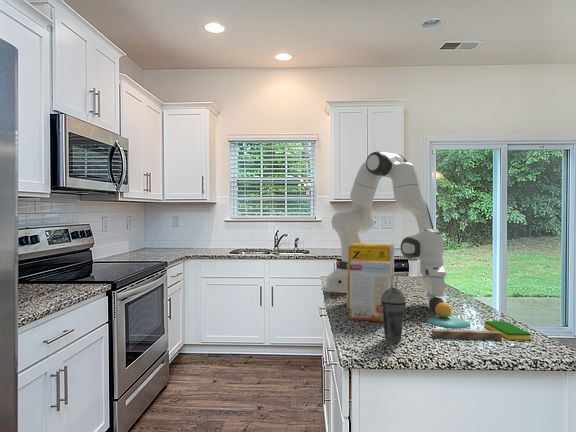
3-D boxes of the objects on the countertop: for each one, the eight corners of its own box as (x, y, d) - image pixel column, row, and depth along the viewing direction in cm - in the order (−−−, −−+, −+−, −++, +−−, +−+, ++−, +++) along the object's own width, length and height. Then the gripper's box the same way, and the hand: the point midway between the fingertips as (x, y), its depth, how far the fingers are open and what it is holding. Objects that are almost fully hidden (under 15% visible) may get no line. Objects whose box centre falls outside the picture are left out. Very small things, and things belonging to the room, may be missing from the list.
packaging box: (355, 299, 173) (355, 242, 173) (393, 303, 167) (394, 244, 167) (347, 308, 158) (347, 245, 158) (388, 312, 152) (389, 247, 152)
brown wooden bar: (433, 337, 122) (433, 331, 122) (431, 335, 124) (431, 329, 124) (501, 339, 120) (501, 333, 120) (498, 337, 122) (498, 331, 122)
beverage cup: (377, 336, 122) (378, 271, 122) (400, 336, 123) (401, 271, 122) (385, 344, 115) (385, 275, 115) (409, 344, 115) (410, 275, 115)
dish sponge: (508, 341, 121) (508, 333, 120) (484, 327, 134) (484, 320, 134) (531, 341, 121) (531, 333, 121) (504, 327, 135) (504, 320, 135)
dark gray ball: (427, 295, 157) (427, 308, 157) (431, 299, 151) (431, 313, 152) (441, 295, 156) (441, 309, 157) (446, 299, 151) (445, 313, 151)
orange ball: (433, 317, 147) (437, 318, 142) (432, 302, 148) (437, 302, 143) (448, 317, 147) (453, 318, 141) (448, 302, 148) (452, 303, 142)
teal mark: (433, 327, 132) (433, 326, 132) (422, 316, 146) (422, 315, 146) (477, 328, 131) (477, 328, 131) (462, 317, 145) (462, 317, 145)
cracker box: (390, 319, 143) (391, 260, 142) (389, 323, 137) (390, 262, 137) (351, 315, 147) (352, 259, 147) (348, 319, 141) (349, 260, 141)
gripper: (417, 265, 171) (417, 297, 171) (430, 272, 151) (429, 309, 151) (432, 265, 171) (432, 298, 171) (447, 273, 150) (446, 309, 150)
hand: (431, 303), depth 161 cm, fingers closed
